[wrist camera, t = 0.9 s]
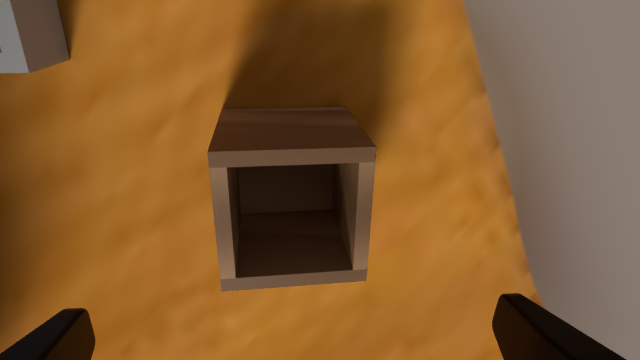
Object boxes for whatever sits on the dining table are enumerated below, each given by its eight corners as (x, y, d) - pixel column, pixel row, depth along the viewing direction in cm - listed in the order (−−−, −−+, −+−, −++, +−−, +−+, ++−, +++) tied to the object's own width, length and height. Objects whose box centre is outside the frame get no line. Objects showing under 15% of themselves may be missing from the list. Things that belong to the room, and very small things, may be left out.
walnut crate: (340, 213, 23) (366, 280, 17) (230, 218, 22) (221, 291, 17) (345, 106, 20) (376, 146, 15) (221, 108, 20) (207, 151, 14)
